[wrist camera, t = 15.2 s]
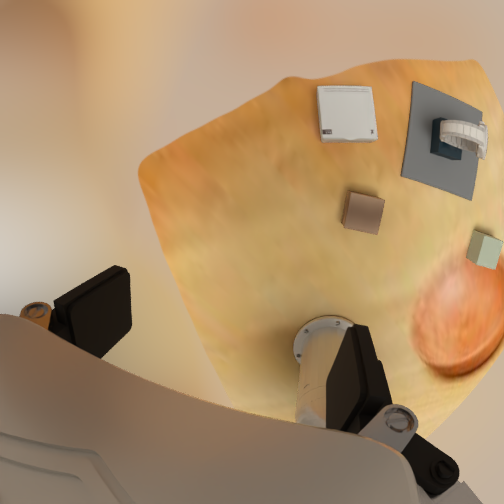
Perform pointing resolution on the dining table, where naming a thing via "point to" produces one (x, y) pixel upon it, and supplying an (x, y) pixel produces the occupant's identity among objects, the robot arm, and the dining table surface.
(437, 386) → the dining table surface
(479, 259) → the sage block
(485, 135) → the watch
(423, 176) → the slate mat
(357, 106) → the small box
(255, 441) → the robot arm
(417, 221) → the dining table surface
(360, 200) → the walnut block
